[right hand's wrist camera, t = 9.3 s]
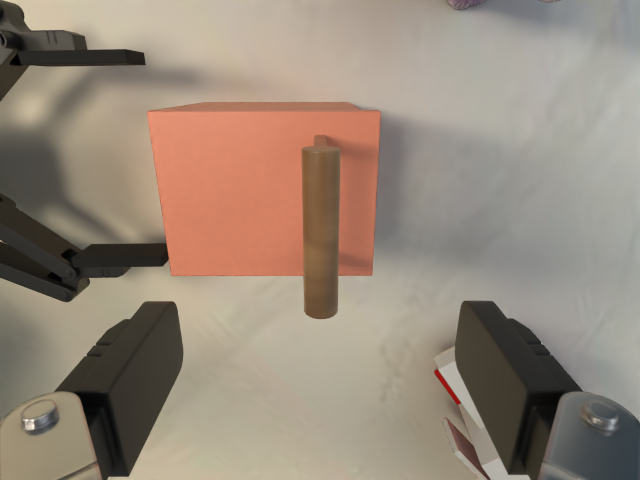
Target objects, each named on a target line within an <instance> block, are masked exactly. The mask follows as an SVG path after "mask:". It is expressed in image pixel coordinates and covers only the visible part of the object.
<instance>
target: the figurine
mask: <svg viewBox="0 0 640 480" xmlns="http://www.w3.org/2000/svg"><path fill="white" fill-rule="evenodd" d="M485 1H486V0H447V2H448V3H449V5H450V6H451V7H453V8H454V9H465V8H467V7H468V6H472V5H475V4H478V3H482V2H485ZM540 1H542V2H546V3H550V2H556V1H560V0H540Z"/></svg>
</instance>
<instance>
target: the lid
mask: <svg viewBox="0 0 640 480" xmlns="http://www.w3.org/2000/svg"><path fill="white" fill-rule="evenodd" d="M147 115H148V122H149V128H150V135H151V142H152V148H153V155H154V162H155V168H156V175H157V182H158V188H159V195H160V202H161V208H162V215H163V222H164V229H165V235H166V242H167V249H168V255H169V262H170V269H171V275H172V276H304V311H305V313H306V315H308V316H309V317H312V318H315V319H327V318H330V317H333V316H334V315H335V314H336V313H337V311H338V276H372V274H373V255H374V236H375V217H376V198H377V179H378V160H379V141H380V122H381V111H378V110H152V111H148V112H147Z"/></svg>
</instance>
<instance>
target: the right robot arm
mask: <svg viewBox="0 0 640 480" xmlns="http://www.w3.org/2000/svg"><path fill="white" fill-rule="evenodd" d="M182 362H183V344H182V337H181V331H180V324H179V317H178V310H177V306H176V304H175V303H174V302H172V301H147V302H144V303H143V304H142V305H141V307H140V308H139V309H138V310H137V312H136V313H135V314H134V315H133V317H132V318H131V319H124V320H123V321H121V322H120V323H118V324H116V325H115V326H113V327H112V328H110V329H109V330H107V331H106V332H105V334H104V335H103V336H102V337H101V338H100V339H99V341H98V342H97V343H96V346H93V347H92V349H91V350H90V351H89V352H88V353H87V357H84V358H83V359H82V360H81V361H80V362H79V364H78V365H77V366H76V367H75V368H74V369H73V371H72V372H71V373H70V374H69V375H68V376H67V378H66V379H65V380H64V381H63V382H62V383H61V384H60V386H59V387H58V388H57V389H56V390H55V391H54V392H51V393H47V394H43V395H40V396H37V397H35V398H32V399H30V400H28V401H26V402H24V403H22V404H21V405H19V406H17V407H16V408H15V409H13V410H12V411H11V412H10V413H9V414H7V415H6V416H5V418H4V419H3V420H2V421H1V423H0V480H107V479H108V477H129V475H130V473H131V471H132V469H133V467H134V465H135V463H136V460H137V458H138V456H139V454H140V452H141V450H142V448H143V446H144V444H145V442H146V440H147V438H148V436H149V434H150V432H151V430H152V428H153V426H154V424H155V422H156V419H157V417H158V415H159V413H160V411H161V409H162V407H163V405H164V403H165V401H166V399H167V397H168V395H169V393H170V391H171V389H172V387H173V385H174V383H175V381H176V379H177V376H178V374H179V372H180V370H181V367H182ZM455 362H456V366H457V369H458V372H459V374H460V376H461V378H462V380H463V382H464V384H465V386H466V388H467V390H468V393H469V395H470V397H471V399H472V401H473V403H474V405H475V407H476V409H477V411H478V413H479V415H480V417H481V419H482V422H483V424H484V426H485V428H486V430H487V432H488V434H489V436H490V438H491V440H492V442H493V444H494V446H495V448H496V451H497V453H498V455H499V457H500V459H501V461H502V463H503V465H504V467H505V469H506V471H507V473H508V475H528V476H529V478H530V480H640V423H639V421H638V420H637V419H636V418H635V416H634V415H633V414H631V413H630V412H629V411H628V410H627V409H625V408H624V407H623V406H621V405H619V404H618V403H616V402H614V401H612V400H610V399H608V398H605V397H603V396H600V395H597V394H593V393H589V392H583V391H582V389H581V388H580V387H579V386H578V385H577V384H576V382H575V381H574V380H573V379H572V378H571V377H570V376H569V374H568V373H567V372H566V371H565V370H564V369H563V367H562V366H561V365H560V364H559V363H558V362H557V360H556V359H555V358H554V357H553V356H550V352H549V351H548V350H547V349H546V348H545V346H544V345H541V342H540V341H539V339H538V338H537V337H536V336H535V335H534V334H533V332H532V331H531V330H530V329H529V328H527V327H525V326H524V325H522V324H521V323H519V322H518V321H516V320H515V319H507V318H506V317H505V315H504V314H503V313H502V312H501V310H500V309H499V308H498V307H497V305H496V304H495V303H494V302H493V301H464V302H463V303H462V305H461V309H460V315H459V322H458V329H457V336H456V343H455Z"/></svg>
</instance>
